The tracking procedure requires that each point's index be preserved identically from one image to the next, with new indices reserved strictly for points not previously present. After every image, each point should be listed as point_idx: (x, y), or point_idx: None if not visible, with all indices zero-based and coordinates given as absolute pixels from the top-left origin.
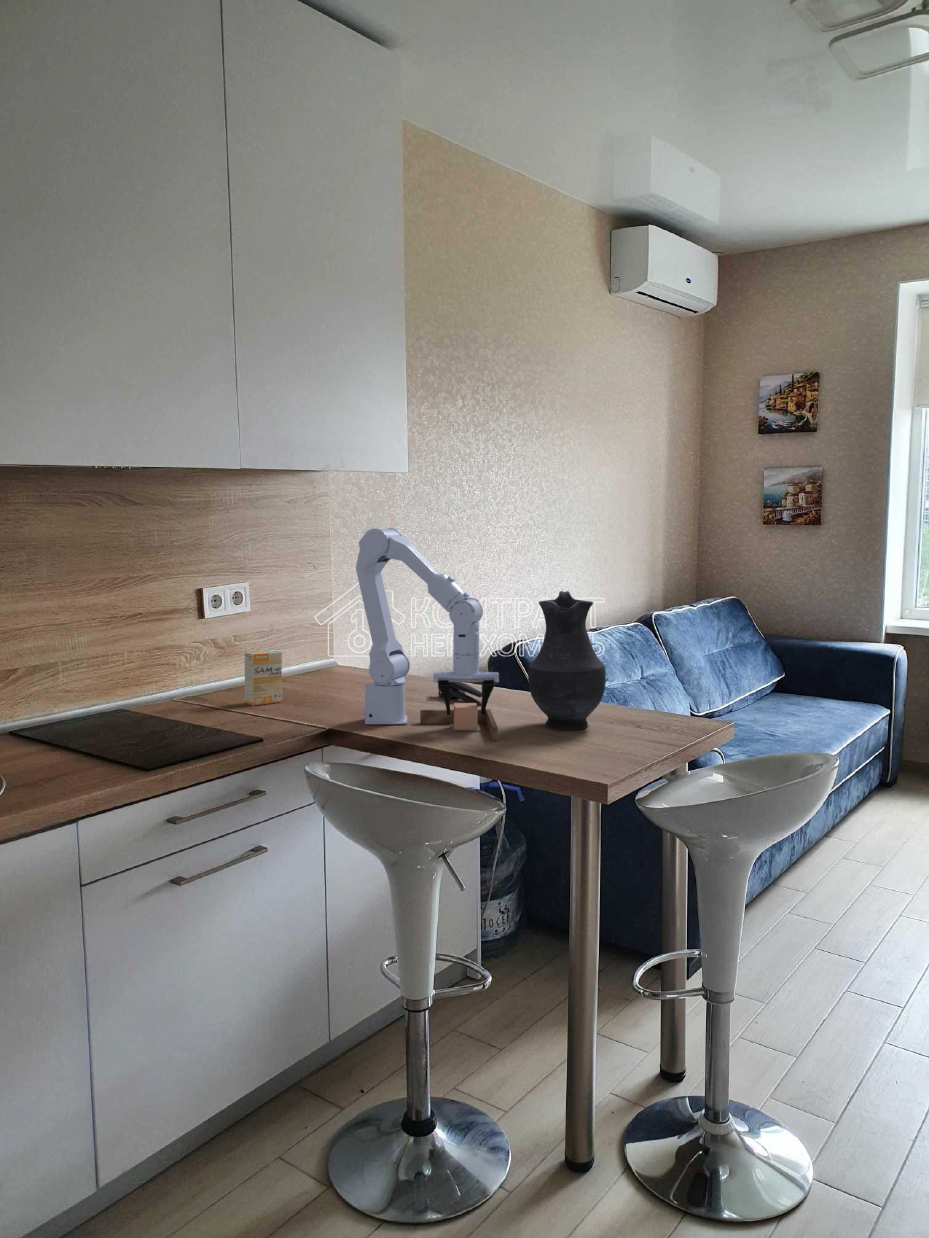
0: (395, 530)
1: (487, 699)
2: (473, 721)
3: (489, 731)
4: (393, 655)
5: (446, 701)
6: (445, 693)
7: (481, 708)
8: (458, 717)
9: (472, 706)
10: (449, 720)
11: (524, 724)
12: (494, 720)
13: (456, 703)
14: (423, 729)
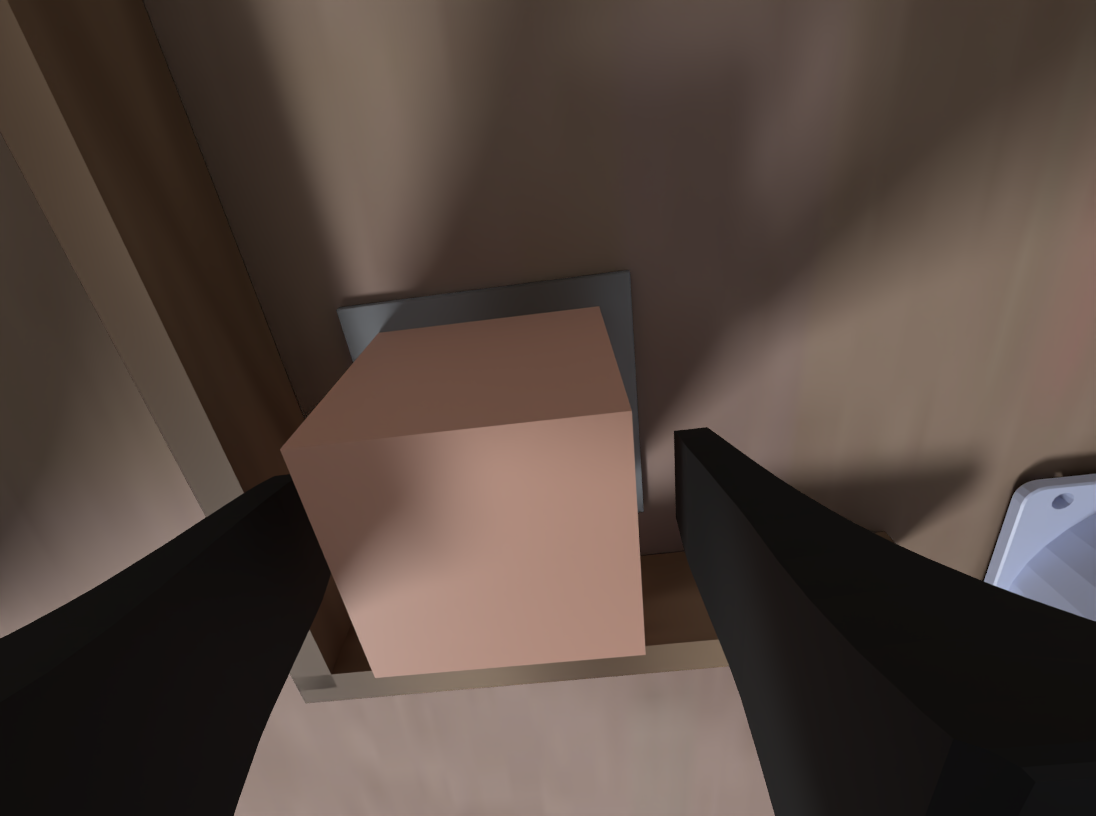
0: None
1: (77, 597)
2: (395, 357)
3: (246, 282)
4: None
5: (797, 505)
6: (917, 598)
7: (294, 557)
8: (568, 358)
9: (376, 508)
10: (653, 572)
11: (68, 573)
12: (55, 223)
13: (613, 639)
14: (897, 337)
